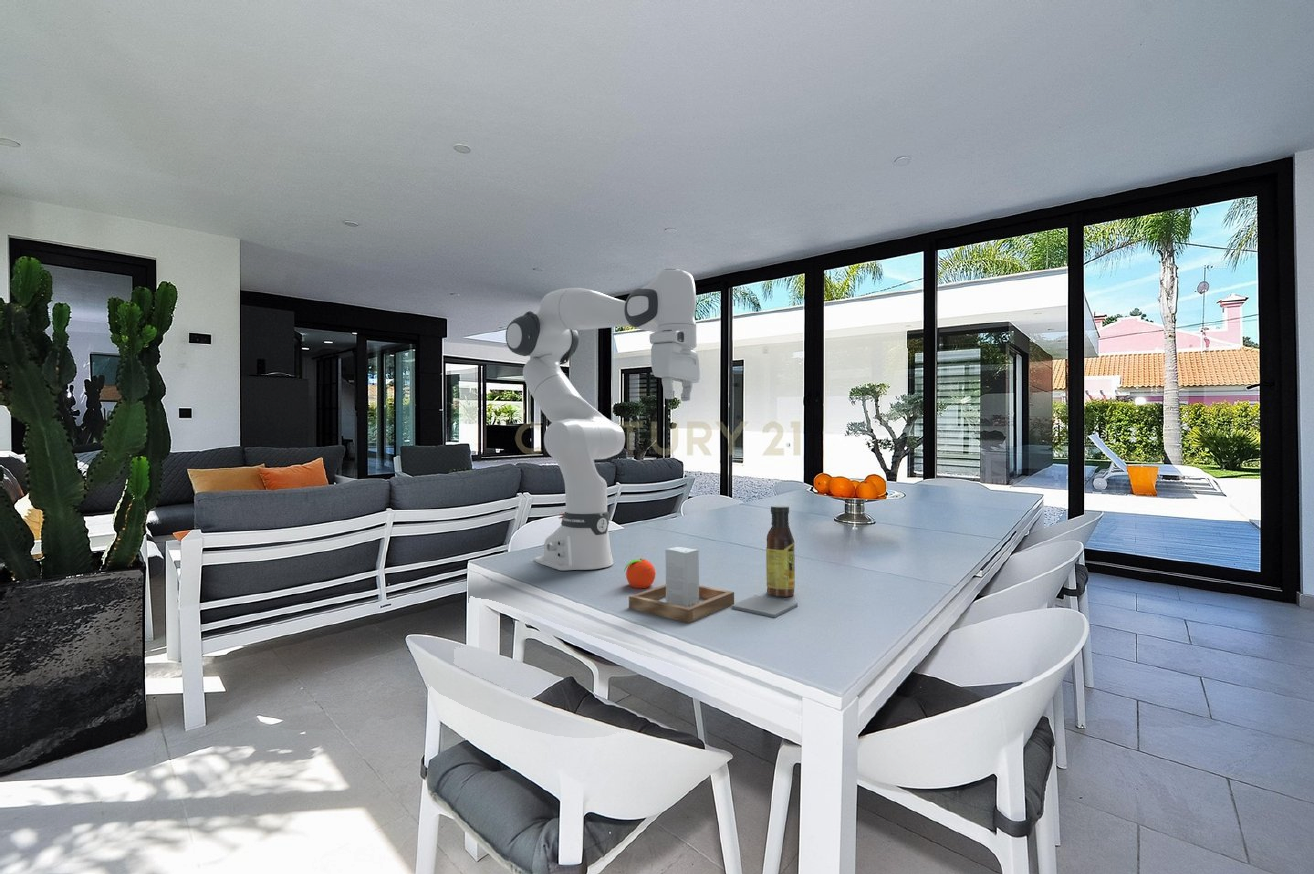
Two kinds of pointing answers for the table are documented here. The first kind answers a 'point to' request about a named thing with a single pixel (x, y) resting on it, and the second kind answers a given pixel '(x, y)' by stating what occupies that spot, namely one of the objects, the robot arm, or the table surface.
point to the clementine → (640, 573)
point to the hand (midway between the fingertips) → (677, 400)
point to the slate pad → (764, 606)
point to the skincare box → (682, 576)
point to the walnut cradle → (685, 614)
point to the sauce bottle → (780, 555)
